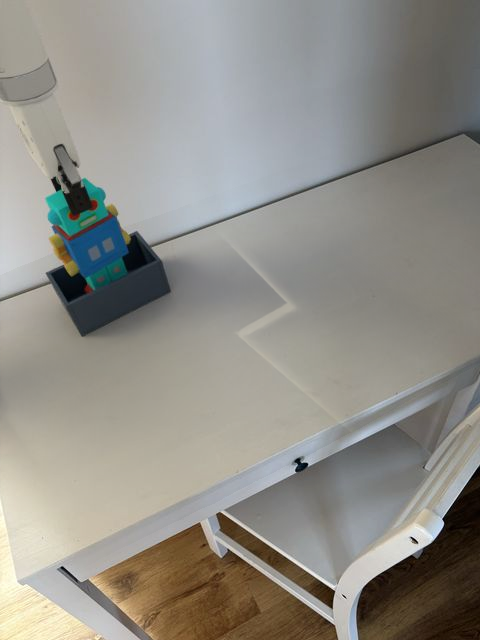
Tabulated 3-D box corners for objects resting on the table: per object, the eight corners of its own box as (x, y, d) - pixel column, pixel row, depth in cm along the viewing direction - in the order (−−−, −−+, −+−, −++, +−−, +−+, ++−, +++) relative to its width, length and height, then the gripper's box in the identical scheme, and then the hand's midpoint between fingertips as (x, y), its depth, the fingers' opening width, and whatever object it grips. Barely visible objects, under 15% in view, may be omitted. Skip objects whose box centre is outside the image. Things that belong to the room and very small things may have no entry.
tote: (81, 336, 92) (65, 307, 86) (61, 303, 97) (45, 272, 91) (171, 291, 97) (161, 260, 91) (147, 261, 102) (136, 230, 96)
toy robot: (94, 318, 92) (35, 197, 72) (77, 300, 95) (16, 178, 75) (149, 283, 96) (108, 160, 77) (131, 267, 99) (86, 144, 80)
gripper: (-25, 64, 69) (33, 184, 84) (15, 117, 60) (72, 241, 74) (30, 46, 72) (77, 166, 86) (77, 94, 62) (121, 219, 77)
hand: (74, 199), depth 80 cm, fingers closed on toy robot, 5 cm apart
